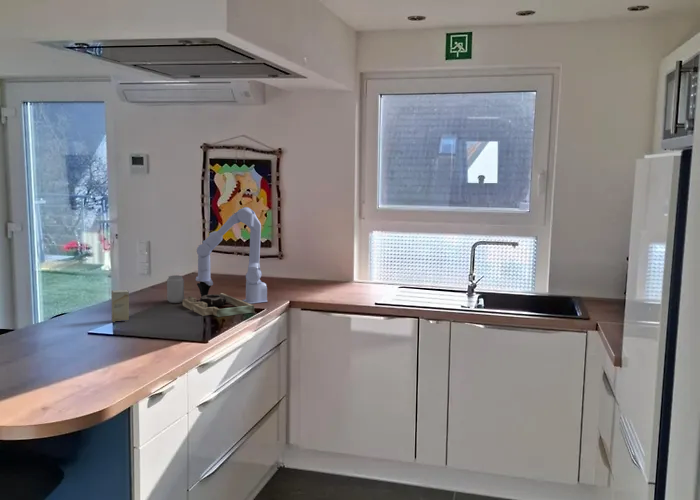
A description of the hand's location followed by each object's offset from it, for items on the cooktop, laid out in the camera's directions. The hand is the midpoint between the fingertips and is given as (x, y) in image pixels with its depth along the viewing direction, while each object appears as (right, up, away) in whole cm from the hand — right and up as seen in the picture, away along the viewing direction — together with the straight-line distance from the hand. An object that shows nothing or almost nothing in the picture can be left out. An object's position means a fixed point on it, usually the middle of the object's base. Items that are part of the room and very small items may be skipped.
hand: (204, 298), depth 294 cm
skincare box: (-24, -6, -42) cm, 49 cm away
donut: (+6, -3, -7) cm, 10 cm away
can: (-12, -1, -5) cm, 13 cm away
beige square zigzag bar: (+8, -3, -15) cm, 17 cm away
